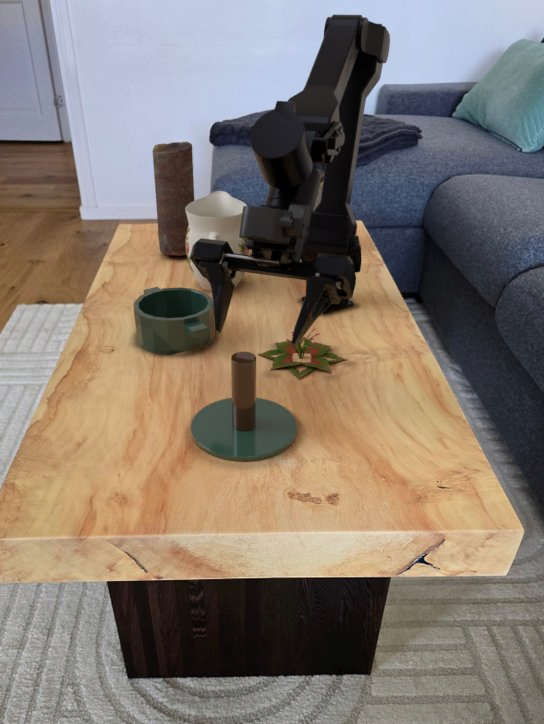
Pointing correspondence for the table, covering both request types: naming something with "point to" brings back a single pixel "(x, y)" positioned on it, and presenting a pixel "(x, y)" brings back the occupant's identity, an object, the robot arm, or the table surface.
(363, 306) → the table surface
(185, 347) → the pot
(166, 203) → the candle
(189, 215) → the pitcher
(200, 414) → the lid
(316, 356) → the lily flower
